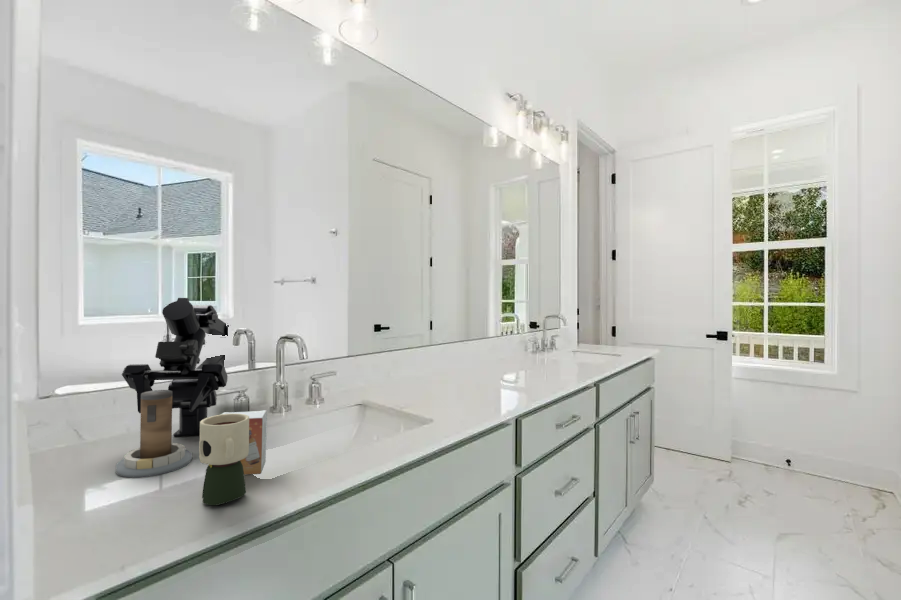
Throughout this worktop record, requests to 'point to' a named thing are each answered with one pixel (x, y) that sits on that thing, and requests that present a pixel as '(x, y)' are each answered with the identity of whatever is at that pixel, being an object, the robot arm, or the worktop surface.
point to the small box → (255, 442)
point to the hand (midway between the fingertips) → (165, 411)
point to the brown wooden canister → (156, 424)
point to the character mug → (224, 456)
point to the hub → (153, 462)
